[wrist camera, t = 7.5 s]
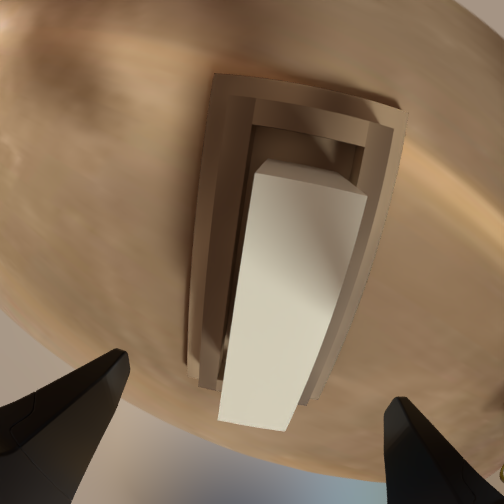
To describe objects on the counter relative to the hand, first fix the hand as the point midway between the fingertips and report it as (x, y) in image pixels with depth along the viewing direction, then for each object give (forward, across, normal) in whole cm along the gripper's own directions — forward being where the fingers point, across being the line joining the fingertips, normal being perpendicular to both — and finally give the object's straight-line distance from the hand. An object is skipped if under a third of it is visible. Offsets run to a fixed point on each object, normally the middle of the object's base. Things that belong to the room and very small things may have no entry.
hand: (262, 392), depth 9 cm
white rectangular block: (+9, 0, 0) cm, 9 cm away
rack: (+9, 0, 0) cm, 9 cm away
